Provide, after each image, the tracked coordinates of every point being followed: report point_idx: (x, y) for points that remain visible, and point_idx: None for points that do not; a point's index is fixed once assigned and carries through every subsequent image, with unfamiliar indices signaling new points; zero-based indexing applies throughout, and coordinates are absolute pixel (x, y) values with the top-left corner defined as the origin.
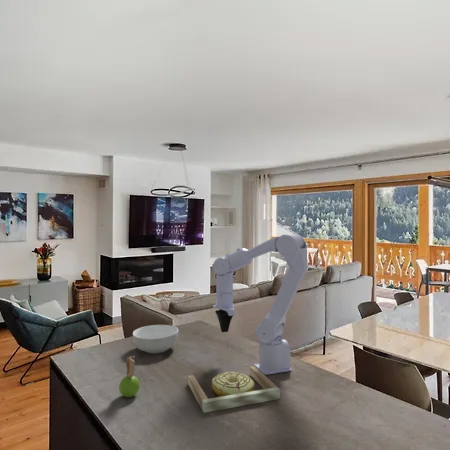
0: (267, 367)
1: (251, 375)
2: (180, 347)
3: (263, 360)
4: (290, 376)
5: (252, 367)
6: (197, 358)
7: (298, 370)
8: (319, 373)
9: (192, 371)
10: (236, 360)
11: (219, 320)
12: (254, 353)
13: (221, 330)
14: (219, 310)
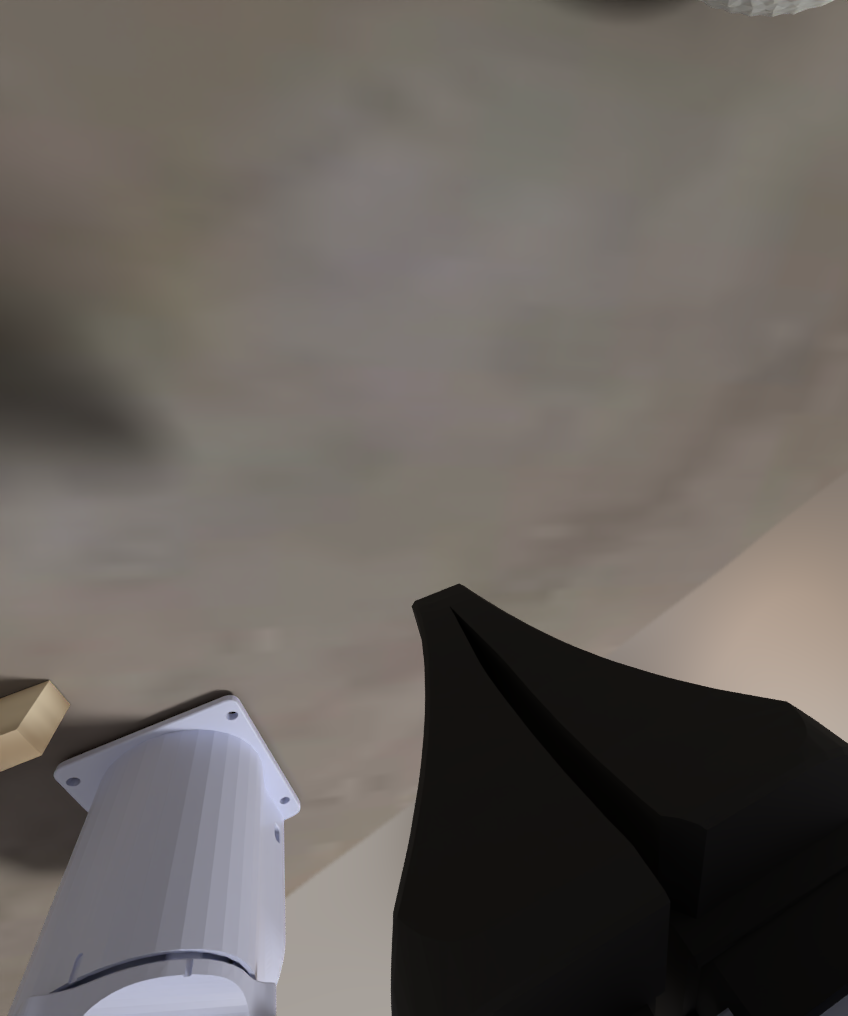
0: (91, 806)
1: (16, 696)
2: (670, 113)
3: (89, 829)
4: None
5: (3, 747)
6: (397, 268)
7: None
8: None
9: (41, 177)
10: (337, 579)
11: (531, 674)
12: None
13: (444, 597)
14: (821, 834)
